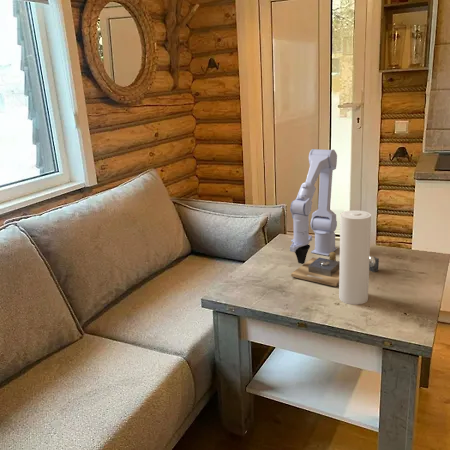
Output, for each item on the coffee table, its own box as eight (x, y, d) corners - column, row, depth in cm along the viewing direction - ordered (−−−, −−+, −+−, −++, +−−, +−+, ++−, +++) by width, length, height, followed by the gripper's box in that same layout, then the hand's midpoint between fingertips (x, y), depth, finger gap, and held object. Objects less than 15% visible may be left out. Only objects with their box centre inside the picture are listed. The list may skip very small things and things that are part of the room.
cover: (319, 263, 179) (319, 256, 178) (340, 268, 173) (340, 260, 172) (308, 271, 172) (308, 264, 171) (330, 276, 167) (330, 268, 166)
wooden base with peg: (313, 260, 185) (313, 248, 184) (355, 268, 175) (356, 256, 173) (291, 276, 172) (291, 263, 170) (336, 286, 161) (336, 273, 160)
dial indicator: (372, 268, 176) (373, 253, 174) (379, 271, 172) (380, 256, 170) (365, 269, 175) (366, 255, 173) (372, 273, 171) (373, 258, 169)
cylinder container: (369, 305, 148) (372, 217, 139) (339, 303, 150) (341, 217, 141) (366, 292, 157) (369, 208, 148) (338, 291, 159) (339, 208, 150)
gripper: (300, 223, 182) (301, 255, 186) (282, 234, 171) (283, 267, 175) (316, 225, 178) (316, 258, 182) (299, 237, 167) (299, 271, 171)
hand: (301, 263), depth 178 cm, fingers closed
